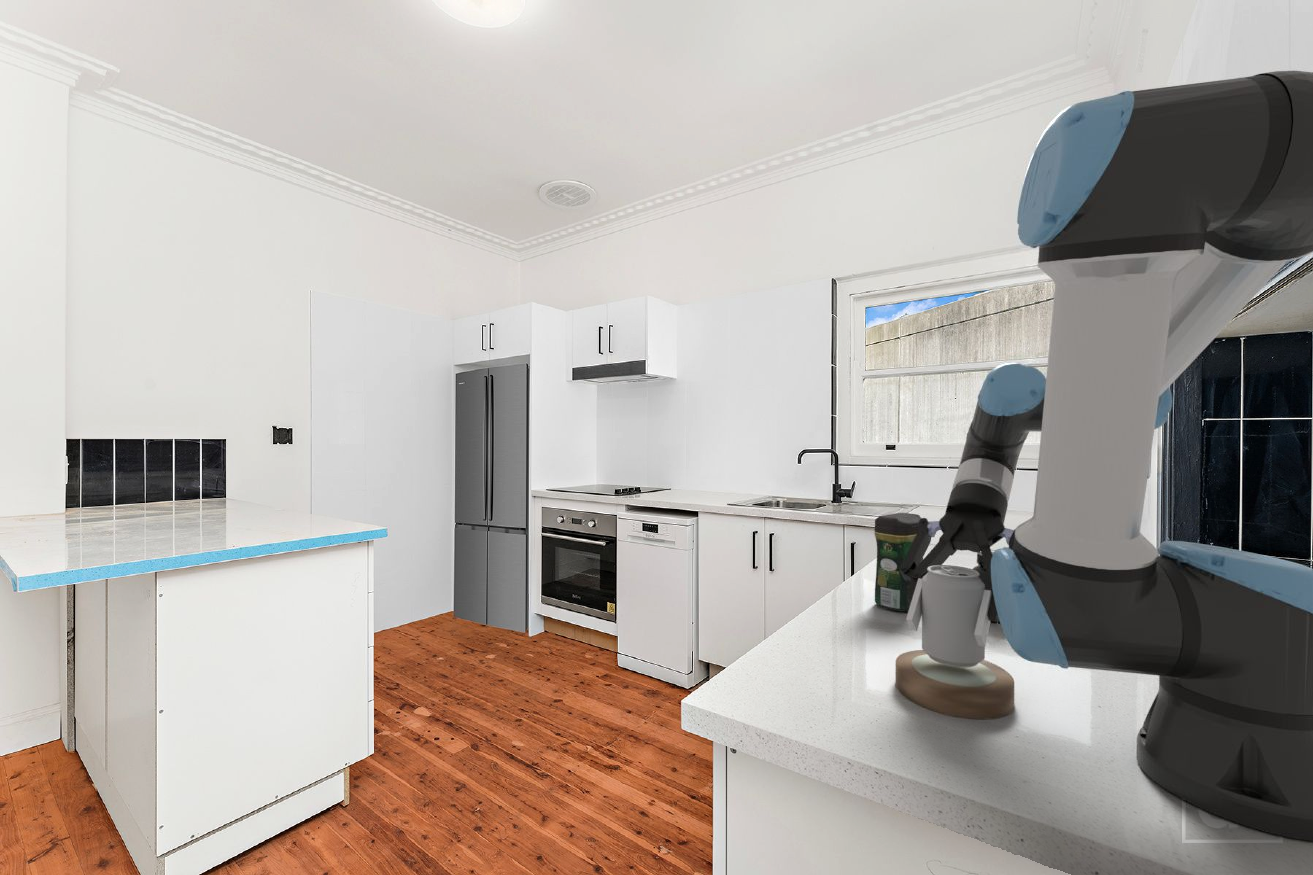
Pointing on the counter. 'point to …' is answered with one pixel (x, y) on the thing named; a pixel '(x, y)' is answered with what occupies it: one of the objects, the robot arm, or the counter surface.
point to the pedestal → (955, 686)
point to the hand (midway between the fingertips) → (944, 632)
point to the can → (951, 615)
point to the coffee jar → (893, 558)
